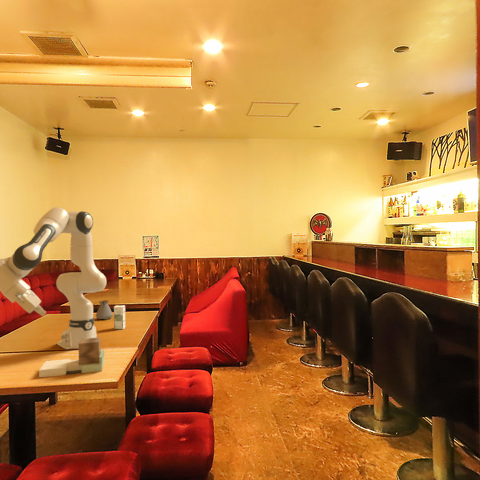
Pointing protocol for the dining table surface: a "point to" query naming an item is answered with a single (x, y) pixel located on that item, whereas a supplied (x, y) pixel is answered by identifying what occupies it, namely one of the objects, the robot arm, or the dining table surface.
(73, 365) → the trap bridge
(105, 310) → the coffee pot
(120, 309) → the syrup box
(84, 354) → the walnut block
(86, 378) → the dining table surface
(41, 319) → the dining table surface
